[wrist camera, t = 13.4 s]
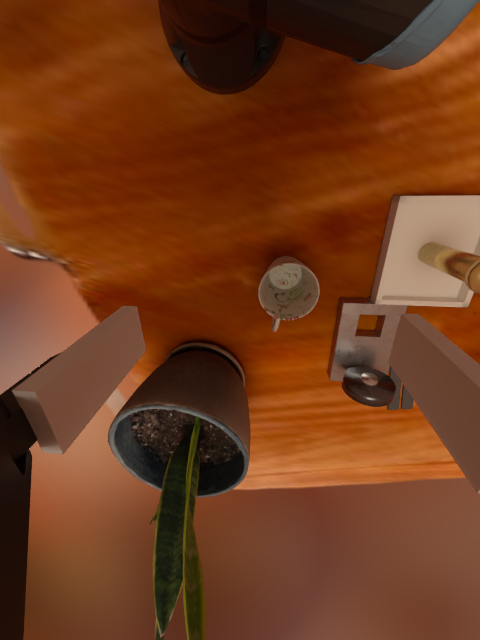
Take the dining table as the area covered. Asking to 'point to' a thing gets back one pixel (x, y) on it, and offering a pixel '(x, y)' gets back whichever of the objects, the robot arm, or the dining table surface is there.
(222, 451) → the potted plant
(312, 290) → the mug
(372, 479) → the dining table surface
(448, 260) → the pin
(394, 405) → the pair of grey strips
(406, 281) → the tray
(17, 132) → the dining table surface
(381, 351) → the block
